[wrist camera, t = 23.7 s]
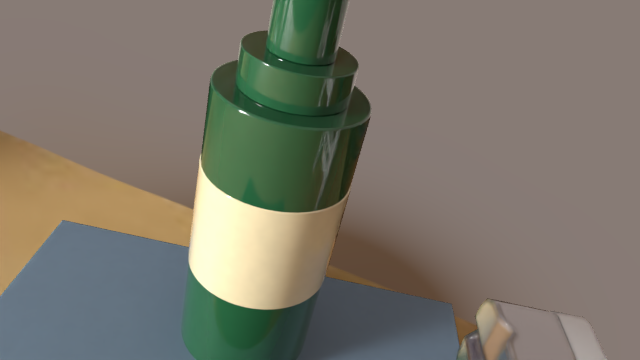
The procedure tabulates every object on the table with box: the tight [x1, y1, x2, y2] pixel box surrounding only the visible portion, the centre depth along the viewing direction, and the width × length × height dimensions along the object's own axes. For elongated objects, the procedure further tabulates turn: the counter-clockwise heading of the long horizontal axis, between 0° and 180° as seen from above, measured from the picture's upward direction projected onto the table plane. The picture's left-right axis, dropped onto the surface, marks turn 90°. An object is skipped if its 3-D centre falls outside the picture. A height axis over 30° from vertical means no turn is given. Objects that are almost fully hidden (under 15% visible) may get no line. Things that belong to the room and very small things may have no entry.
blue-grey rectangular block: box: [0, 220, 460, 360], centre depth 29 cm, size 23×10×5 cm, turn 85°
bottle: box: [181, 0, 372, 360], centre depth 23 cm, size 6×6×19 cm
